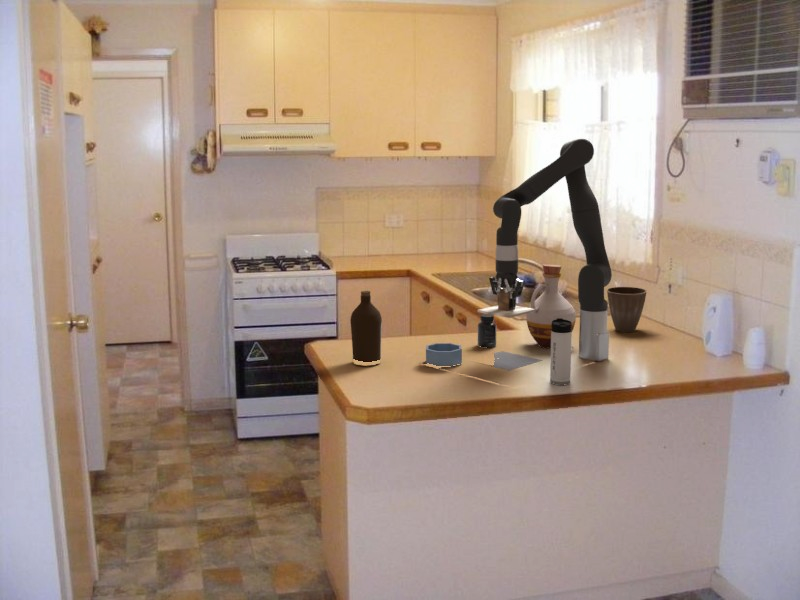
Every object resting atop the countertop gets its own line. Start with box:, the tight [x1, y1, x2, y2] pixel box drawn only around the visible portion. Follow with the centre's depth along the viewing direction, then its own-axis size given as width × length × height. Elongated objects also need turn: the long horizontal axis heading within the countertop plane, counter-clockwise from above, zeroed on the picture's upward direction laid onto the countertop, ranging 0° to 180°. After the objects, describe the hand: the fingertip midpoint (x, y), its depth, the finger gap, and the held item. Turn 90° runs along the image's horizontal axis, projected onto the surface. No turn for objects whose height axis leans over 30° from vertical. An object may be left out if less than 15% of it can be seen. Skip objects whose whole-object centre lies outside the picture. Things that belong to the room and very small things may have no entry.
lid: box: [476, 290, 536, 319], centre depth 304 cm, size 14×14×7 cm
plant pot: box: [606, 286, 647, 333], centre depth 352 cm, size 15×15×16 cm
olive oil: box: [350, 290, 383, 362], centre depth 307 cm, size 11×11×25 cm
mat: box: [493, 350, 544, 371], centre depth 309 cm, size 18×18×1 cm
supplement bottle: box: [477, 313, 497, 349], centre depth 328 cm, size 7×7×12 cm
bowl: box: [425, 342, 463, 366], centre depth 306 cm, size 12×12×6 cm
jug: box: [525, 264, 577, 349], centre depth 327 cm, size 20×18×30 cm
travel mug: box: [549, 318, 573, 386], centre depth 282 cm, size 6×7×20 cm
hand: (506, 308), depth 305 cm, fingers closed on lid, 4 cm apart
